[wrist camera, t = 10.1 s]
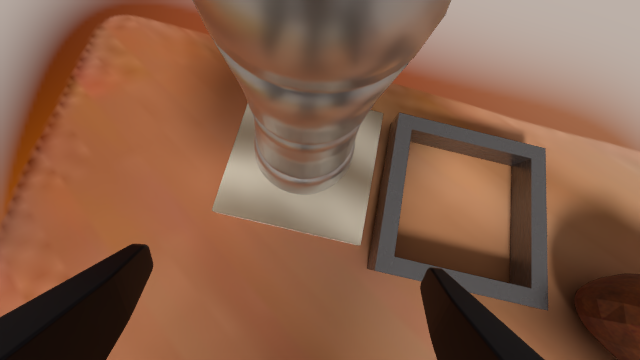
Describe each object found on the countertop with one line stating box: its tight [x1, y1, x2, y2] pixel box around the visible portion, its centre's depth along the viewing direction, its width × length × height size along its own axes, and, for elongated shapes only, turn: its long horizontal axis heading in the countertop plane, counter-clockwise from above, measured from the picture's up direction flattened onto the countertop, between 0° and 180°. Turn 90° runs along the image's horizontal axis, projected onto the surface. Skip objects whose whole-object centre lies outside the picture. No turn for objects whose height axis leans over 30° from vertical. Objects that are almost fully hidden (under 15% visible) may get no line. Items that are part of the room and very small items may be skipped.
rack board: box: [212, 104, 383, 245], centre depth 21 cm, size 11×11×1 cm
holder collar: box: [367, 113, 548, 310], centre depth 21 cm, size 12×12×2 cm
